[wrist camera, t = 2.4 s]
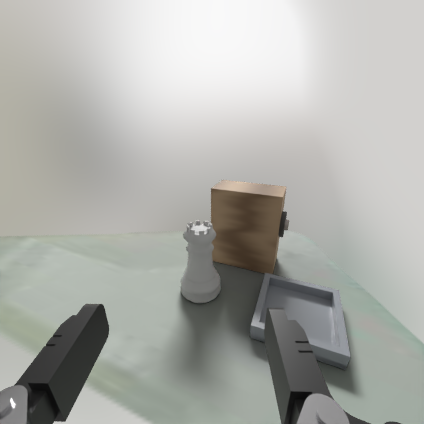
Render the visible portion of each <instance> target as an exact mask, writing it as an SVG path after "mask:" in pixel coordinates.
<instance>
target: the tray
mask: <svg viewBox="0 0 424 424" xmlns="http://www.w3.org/2000/svg"><path fill="white" fill-rule="evenodd" d="M267 308H284V310H285V313H286V316H287V319H288V320H296V321H297V322H298V323H299V324H300V326H301V327H302V328H303V329H304V331H305V333H306V335H307V338H308V340H309V343H310V345H311V348H312V350H313V353H314V355H315V358H316V360H317V361H320V362H323V363H326V364H329V365H332V366H335V367H338V368H341V369H344V370H346V368H347V365H348V362H349V360H350V351H349V345H348V339H347V334H346V328H345V322H344V316H343V310H342V304H341V299H340V293H339V290H336V289H332V288H328V287H324V286H319V285H315V284H311V283H307V282H303V281H298V280H294V279H290V278H286V277H281V276H277V275H273V274H269V273H265V276H264V279H263V283H262V287H261V290H260V294H259V297H258V301H257V305H256V308H255V312H254V315H253V319H252V322H251V328H250V338H253V339H256V340H259V341H262V342H264V343H265V338H264V328H265V319H266V311H267Z"/></svg>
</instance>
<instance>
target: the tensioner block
mask: <svg viewBox="0 0 424 424" xmlns="http://www.w3.org/2000/svg"><path fill="white" fill-rule="evenodd" d="M285 193H286V187H285V186H275V185H265V184H256V183H245V182H237V181H228V180H222V181H221V182H219V183H218V184H217V185H215V186H214V187H212V188H211V223H212V225H213V230H214V231H215V232H216V237H215V239H214V240H213V241H212V244H213V246H214V249H213V251H212V259H213V261H215V262H219V263H223V264H227V265H231V266H236V267H240V268H244V269H248V270H252V271H257V272H261V273H269V274H273V271H274V267H275V262H276V258H277V251H278V244H279V237H283V234H284V230H288V225H289V220H286V215H287V212H283V208H284V200H285Z"/></svg>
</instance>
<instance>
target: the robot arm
mask: <svg viewBox="0 0 424 424" xmlns="http://www.w3.org/2000/svg"><path fill="white" fill-rule="evenodd" d="M108 334H109V325H108V321H107V317H106V313H105V309H104V306H103V305H102V304H85V305H84V306H83V307H82V309H81V310H80V311H79V313H78V314H77V315H72V316H71V317H70V318H69V319H67V320H66V321H65V322H64V323H62V324H61V325H60V327H59V328H58V329H57V331H56V332H55V333H54V335H53V337H51V338H50V340H49V341H48V342H47V344H46V346H44V348H43V349H42V350H41V352H40V353H39V354H38V355H37V357H36V358H35V359H34V361H33V362H32V363H31V365H30V366H29V367H28V368H27V370H26V371H25V373H24V374H23V375H22V376H21V378H20V379H19V380H18V381H17V383H16V384H15V385H14V386H11V387H8V388H6V389H4V390H2V391H1V392H0V424H53V422H54V421H62V422H63V421H66V419H67V417H68V415H69V413H70V411H71V409H72V407H73V405H74V403H75V401H76V399H77V397H78V395H79V393H80V391H81V390H82V388H83V386H84V384H85V382H86V380H87V378H88V376H89V374H90V372H91V370H92V368H93V366H94V364H95V362H96V360H97V358H98V356H99V354H100V352H101V350H102V348H103V346H104V344H105V342H106V340H107V338H108ZM264 338H265V346H266V350H267V355H268V360H269V365H270V370H271V375H272V380H273V385H274V389H275V394H276V399H277V404H278V409H279V414H280V419H281V423H282V424H370V423H367V422H365V421H362V420H360V419H357V418H355V417H353V416H351V415H350V414H348V413H347V412H345V411H344V410H343V409H342V408H341V407H340V405H339V404H338V403H337V402H335V400H334V399H333V398H332V396H331V394H330V392H329V390H328V387H327V385H326V382H325V380H324V378H323V375H322V373H321V370H320V368H319V365H318V363H317V360H316V358H315V355H314V353H313V350H312V348H311V345H310V343H309V340H308V338H307V335H306V333H305V331H304V329H303V328H302V327H301V326H300V324H299V323H298V322H297V321H296V320H288V319H287V316H286V313H285V310H284V308H267V311H266V319H265V328H264ZM385 424H401V423H398V422H386V423H385Z"/></svg>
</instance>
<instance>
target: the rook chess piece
mask: <svg viewBox="0 0 424 424" xmlns="http://www.w3.org/2000/svg"><path fill="white" fill-rule="evenodd" d="M183 237H184V239H185V240H186V241H187V242H188V245H187V247H186V250H187V251H188V264H187V268H186V270H185V272H184V273H183V276H182V278H181V293H182V294H183V296H184V297H185V298H186V299H188V300H190V301H191V302H193V303H207V302H209V301H211V300H213V299H214V298H216V296H217V295H218V294H219V293H220V290H221V285H220V281H221V280H220V277H219V274H218V272H217V271H216V268H215V267H214V265H213V259H212V251H213V249H214V246H213V244H212V241H213V240H214V239H215V237H216V232H215V231H214V230H213V225H212V223H211V224H209V222H208V221H204V224H200V220H196V221H195V225H193V222H189V223H188V226H187V230H186V231H185V232H184V234H183Z"/></svg>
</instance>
